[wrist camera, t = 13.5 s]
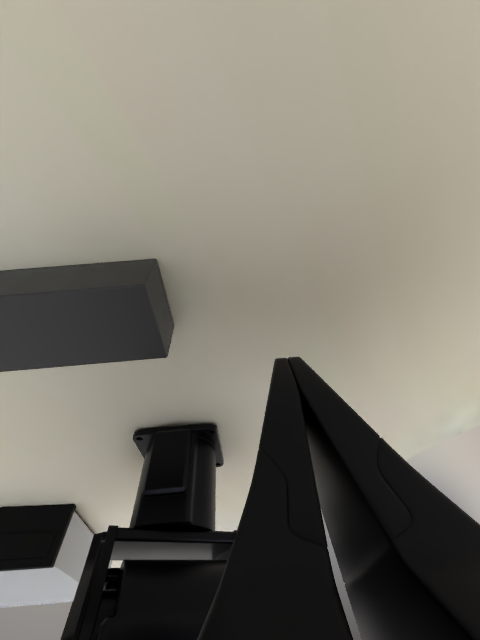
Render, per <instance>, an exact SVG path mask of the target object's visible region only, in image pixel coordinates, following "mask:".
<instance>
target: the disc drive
mask: <svg viewBox="0 0 480 640" xmlns="http://www.w3.org/2000/svg"><path fill="white" fill-rule="evenodd" d="M75 508H76V506H75V505H53V506H31V507H9V508H0V608H3V607H15V606H27V605H39V604H50V603H63V602H73V600H74V597H75V594H76V590H77V587H78V584H79V581H80V578H81V575H82V572H83V568H84V565H85V562H86V559H87V556H88V552H89V549H90V546H91V542H92V539H93V536H94V535H93V533H92V532H91V531H90V530H89V528H88V527H87V526H86V525H85V524H84V522H83V521H82V520H81V519H80V517H79V516H78V515H77V514H76V513H75ZM111 564H112V560H110V563H109V567H108V568H111Z"/></svg>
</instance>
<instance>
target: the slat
mask: <svg viewBox="0 0 480 640" xmlns="http://www.w3.org/2000/svg"><path fill="white" fill-rule="evenodd" d="M173 329H174V323H173V319H172V315H171V311H170V308H169V304H168V300H167V296H166V293H165V289H164V285H163V281H162V278H161V274H160V270H159V266H158V262H157V260H156V259H148V260H135V261H123V262H110V263H97V264H84V265H71V266H58V267H45V268H32V269H19V270H6V271H0V372H4V371H16V370H27V369H39V368H51V367H62V366H74V365H86V364H97V363H109V362H121V361H132V360H144V359H156V358H166V357H167V356H168V352H169V347H170V343H171V338H172V334H173Z"/></svg>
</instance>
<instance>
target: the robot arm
mask: <svg viewBox="0 0 480 640" xmlns="http://www.w3.org/2000/svg"><path fill="white" fill-rule="evenodd" d="M133 440H134V442H135V444H136V445H137V447H138V449H139V450H140V452H141V454H142V455H143V457H144V459H145V460H144V464H143V469H142V473H141V478H140V482H139V487H138V491H137V496H136V500H135V505H134V509H133V514H132V518H131V523H130V527H129V528H118V526H112V525H109V527H108V531H107V532H102V533H98V534H94V536H93V539H92V542H91V546H90V549H89V552H88V556H87V559H86V562H85V565H84V568H83V572H82V575H81V578H80V581H79V584H78V587H77V590H76V594H75V597H74V600H73V603H72V606H71V609H70V613H69V616H68V618H67V622H66V625H65V628H64V631H63V634H62V637H61V640H353V638H352V634H351V631H350V628H349V625H348V622H347V619H346V616H345V612H344V610H343V606H342V603H341V600H340V597H339V593H338V590H337V587H336V583H335V579H334V575H333V571H332V566H331V562H330V557H329V552H328V549H327V541H326V535H325V530H324V524H323V519H322V513H323V516H324V520H325V523H326V526H327V529H328V533H329V536H330V539H331V542H332V546H333V549H334V552H335V555H336V558H337V562H338V565H339V568H340V571H341V574H342V578H343V581H344V583H345V588H346V591H347V594H348V597H349V600H350V604H351V607H352V610H353V613H354V617H355V620H356V623H357V626H358V629H359V632H360V636H361V639H362V640H480V525H479V524H478V523H477V522H476V521H475V520H473V519H472V518H471V517H470V516H469V515H468V514H466V513H465V512H464V511H463V510H462V509H460V508H459V507H458V506H457V505H456V504H455V503H453V502H452V501H451V500H450V499H449V498H447V497H446V496H445V495H444V494H443V493H442V492H440V491H439V490H438V489H437V488H436V487H435V486H433V485H432V484H431V483H430V482H429V481H428V480H426V479H425V478H424V477H423V476H422V475H420V473H418V472H417V471H416V470H415V469H414V468H413V467H412V466H410V465H409V464H408V463H407V462H406V461H405V460H404V459H403V458H402V457H401V456H400V455H399V454H398V453H397V452H396V451H395V450H394V449H393V448H392V447H390V446H389V445H388V444H387V443H386V442H385V441H384V440H383V439H382V438H379V435H378V434H377V433H376V432H375V431H374V430H373V429H372V428H371V427H370V426H369V425H368V424H367V423H366V422H365V421H364V420H363V419H362V418H361V417H360V416H359V415H358V414H357V413H356V412H355V411H354V410H353V409H352V408H351V407H350V406H349V405H348V404H347V403H346V402H345V401H344V400H343V399H342V398H341V397H340V396H339V395H338V394H337V393H336V392H335V391H334V390H333V389H332V388H331V387H330V386H329V385H328V384H327V383H326V382H325V381H324V380H323V379H322V378H321V377H320V376H319V375H318V374H317V373H316V372H315V371H314V370H312V369H311V368H310V367H309V366H308V365H307V364H306V363H305V362H304V361H303V360H302V359H301V358H300V357H289V358H288V359H287V358H277V359H275V362H274V367H273V373H272V378H271V384H270V389H269V395H268V400H267V406H266V411H265V417H264V422H263V428H262V433H261V439H260V444H259V450H258V454H257V460H256V465H255V470H254V474H253V479H252V483H251V487H250V490H249V494H248V497H247V500H246V504H245V507H244V510H243V513H242V517H241V520H240V523H239V526H238V529H237V530H234V531H233V532H223V531H215V489H216V467H220V466H222V465H223V455H222V450H221V445H220V440H219V435H218V430H217V426H216V425H214V424H204V425H193V426H182V427H171V428H160V429H149V430H138V431H135V432H134V435H133ZM320 507H321V508H320ZM321 510H322V513H321ZM110 560H123V562H122V565H121V568H108V567H109V563H110Z"/></svg>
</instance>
